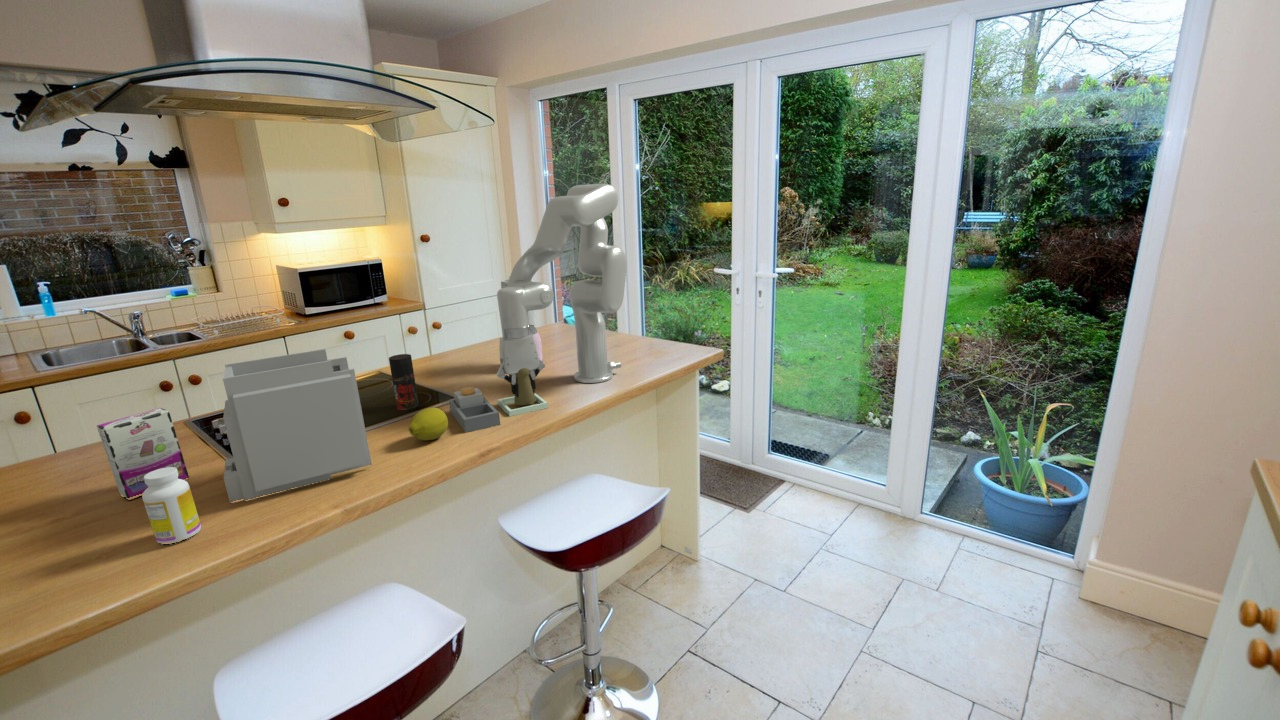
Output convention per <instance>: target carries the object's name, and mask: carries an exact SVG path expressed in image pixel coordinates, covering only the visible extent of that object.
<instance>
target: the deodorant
mask: <svg viewBox="0 0 1280 720" xmlns="http://www.w3.org/2000/svg"><path fill="white" fill-rule="evenodd" d="M388 362H389V368H390V374H391V380H392V386H393V392H394V393H393V394H394V398H395V403H396V410H400V411H408V409H409V410H413V409H415V407H416V408H417V407H419V397H418V392H417V385H416V379H415V372H414V366H413V360H412V354H409V353H402V354H395V355H391V356H389V358H388ZM412 408H413V409H412Z"/></svg>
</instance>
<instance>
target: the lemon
mask: <svg viewBox="0 0 1280 720" xmlns="http://www.w3.org/2000/svg"><path fill="white" fill-rule="evenodd" d="M448 427H449V420H448V417H447V415H446V412H444V411H443V410H442V409H440V408H438V407H427V408H423V409H421V410H420V411H418V412H417V413H416V414H414V416H413V417H412V418H411V420H410V423H409V426H408V432H409V433H410V435H411V436H413V437H414V438H415V439H418V440H420V441H433V440H436V439H438V438H440V437H441V436H442V435H444V434H445V432H446V431H447V429H448Z"/></svg>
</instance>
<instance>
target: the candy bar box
mask: <svg viewBox="0 0 1280 720" xmlns="http://www.w3.org/2000/svg"><path fill="white" fill-rule="evenodd" d="M96 429H97V432H98V434H99V436H100V440H101V443H102V446H103V449H104V451H105V452H104V453H105V454H106V457H107V460H108V463H109V466H110V469H111V472H112V475H113V478H114V481H115V483H116V487H117V489H118V492H119V495H120V494H122V495H123V496H125V497H126V498H130V497H133V496H136V495H139V494H142V493H143V492H144V491H145V490H146V489H147V488H148V486H147V485H146V484H145V481H144V476H145V475H146V474H148V473H150V472H152V471H154V470H157V469H161V468H167V467H175V468H177V471H178V474H179V475H178V479H182V480H184V479H186V478H189V479H190V476H189V472H188V469H187V466H186V462H185V459H184V456H183V452H182V450H181V446H180V443H179V440H178V436H177V432H176V430H175V426H174V423H173V420H172V417H171V412H170V411H169V410H167V409H164V408H163V407H158V408H155V409H151V410H147V411H144V412H141V413H136V414H131V415H130V416H129V415H128V416H126V417H121V418H119V419H115V420H111V421H109V422H108V421H107V422H103V423H101V424H98V425H96Z"/></svg>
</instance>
